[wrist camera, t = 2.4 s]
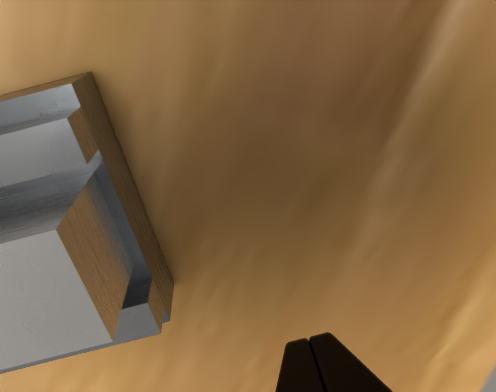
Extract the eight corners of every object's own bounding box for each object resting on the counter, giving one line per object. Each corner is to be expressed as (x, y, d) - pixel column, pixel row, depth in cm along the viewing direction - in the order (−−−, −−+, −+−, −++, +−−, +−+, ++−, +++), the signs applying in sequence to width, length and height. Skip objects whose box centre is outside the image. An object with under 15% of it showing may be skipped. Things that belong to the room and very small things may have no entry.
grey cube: (93, 172, 14) (55, 229, 11) (133, 265, 16) (112, 341, 13) (-18, 201, 15) (-92, 267, 11) (33, 291, 16) (-16, 374, 13)
